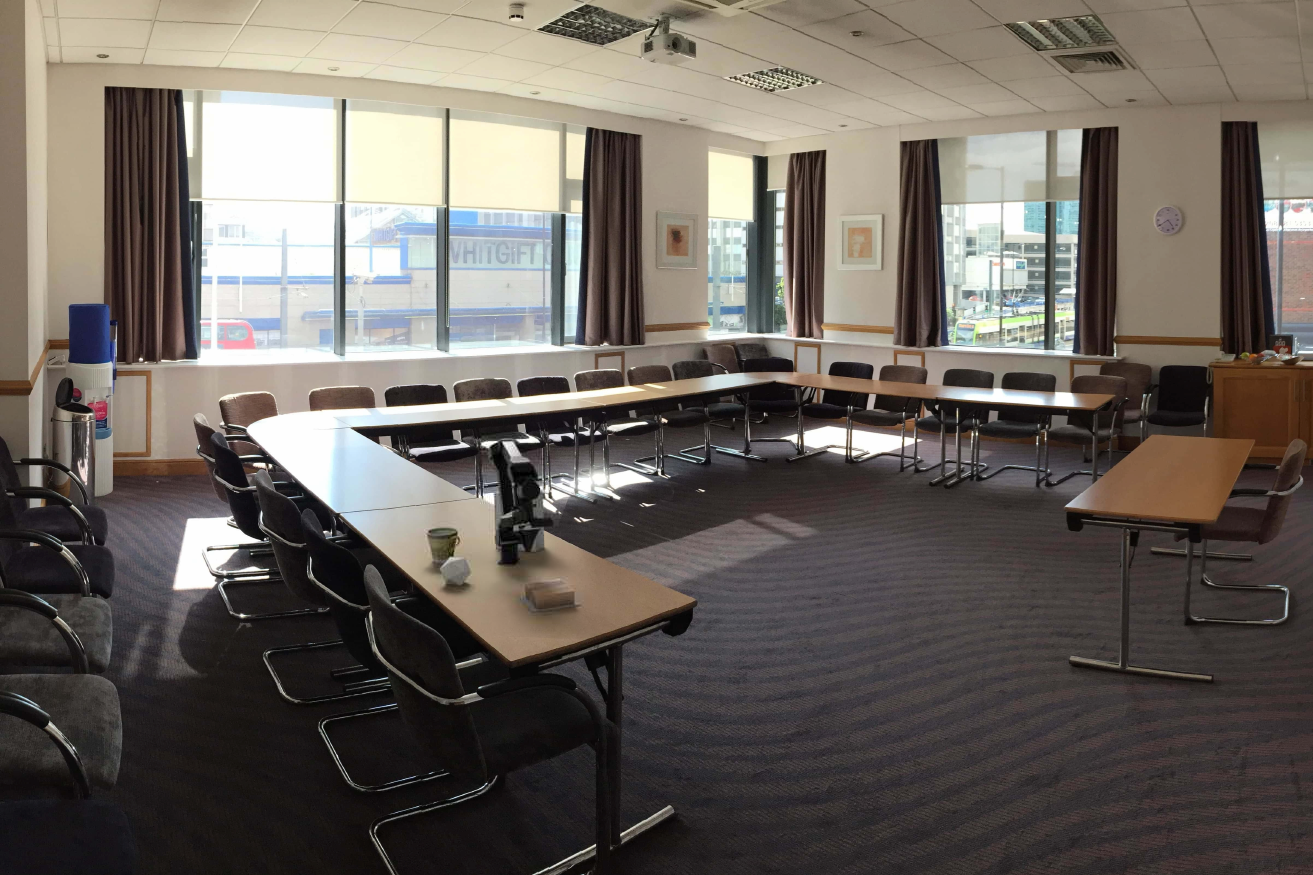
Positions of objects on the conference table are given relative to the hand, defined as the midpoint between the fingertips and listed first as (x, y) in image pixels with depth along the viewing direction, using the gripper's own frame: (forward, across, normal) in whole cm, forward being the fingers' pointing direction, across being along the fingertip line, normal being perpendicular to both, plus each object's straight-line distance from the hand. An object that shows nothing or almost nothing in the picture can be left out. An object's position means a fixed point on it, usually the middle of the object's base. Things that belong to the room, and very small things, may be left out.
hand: (528, 552), depth 285 cm
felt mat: (+14, +15, -7) cm, 22 cm away
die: (+7, -19, -13) cm, 24 cm away
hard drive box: (0, -31, +26) cm, 41 cm away
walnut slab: (+10, +10, -4) cm, 15 cm away
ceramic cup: (+1, -39, 0) cm, 39 cm away
